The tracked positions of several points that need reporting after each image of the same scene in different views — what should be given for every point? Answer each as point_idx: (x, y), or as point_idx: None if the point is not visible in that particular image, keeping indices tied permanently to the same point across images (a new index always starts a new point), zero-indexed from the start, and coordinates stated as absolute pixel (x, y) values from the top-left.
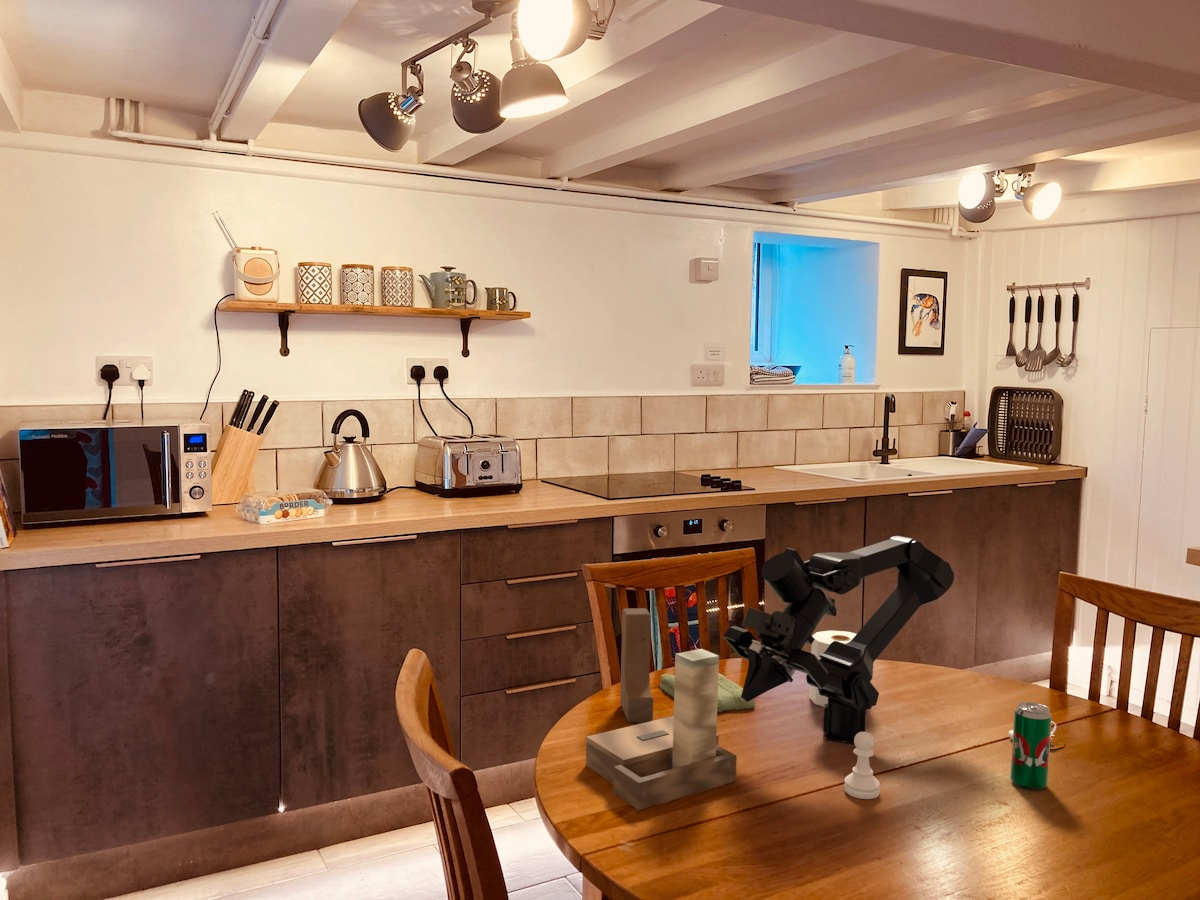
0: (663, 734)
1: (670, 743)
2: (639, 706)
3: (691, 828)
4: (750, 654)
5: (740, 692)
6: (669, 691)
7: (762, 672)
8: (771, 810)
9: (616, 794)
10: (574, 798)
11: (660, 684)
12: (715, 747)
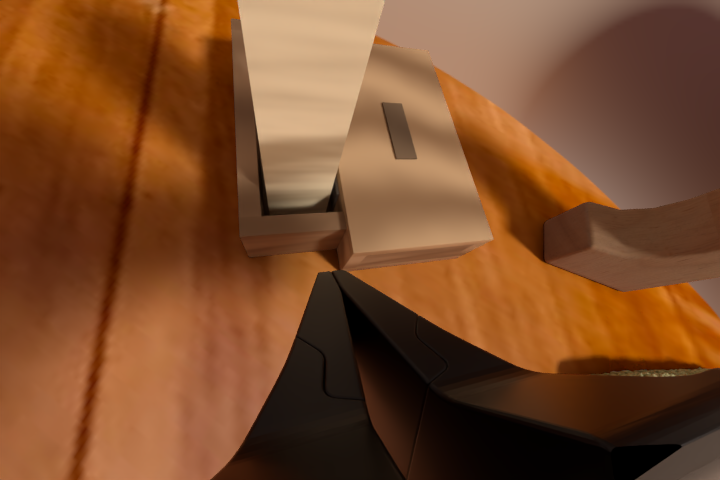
0: (394, 146)
1: (351, 135)
2: (571, 227)
3: (134, 88)
4: (612, 392)
5: None
6: (682, 371)
7: (300, 395)
8: (83, 245)
9: None
10: None
11: None
12: (265, 181)
